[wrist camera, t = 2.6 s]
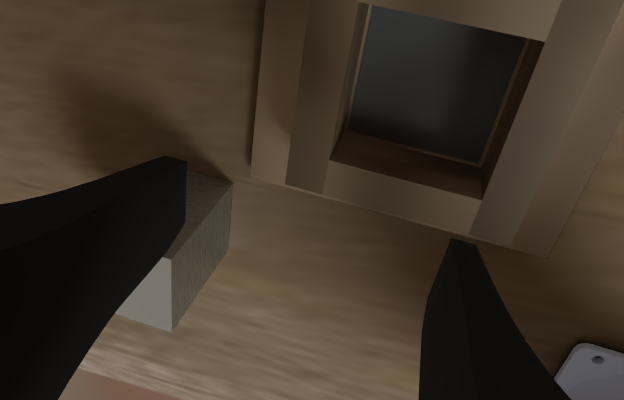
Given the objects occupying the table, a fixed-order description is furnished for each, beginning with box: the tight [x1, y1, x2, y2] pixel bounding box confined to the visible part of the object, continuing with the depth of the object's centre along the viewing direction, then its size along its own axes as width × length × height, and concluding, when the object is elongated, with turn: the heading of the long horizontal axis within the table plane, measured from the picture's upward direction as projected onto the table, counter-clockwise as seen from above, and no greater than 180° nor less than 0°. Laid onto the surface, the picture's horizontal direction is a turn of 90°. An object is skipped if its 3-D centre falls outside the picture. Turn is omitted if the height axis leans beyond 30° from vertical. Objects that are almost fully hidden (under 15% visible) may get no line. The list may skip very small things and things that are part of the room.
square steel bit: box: [115, 171, 233, 332], centre depth 23 cm, size 4×4×6 cm
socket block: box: [250, 0, 624, 259], centre depth 18 cm, size 13×12×3 cm
